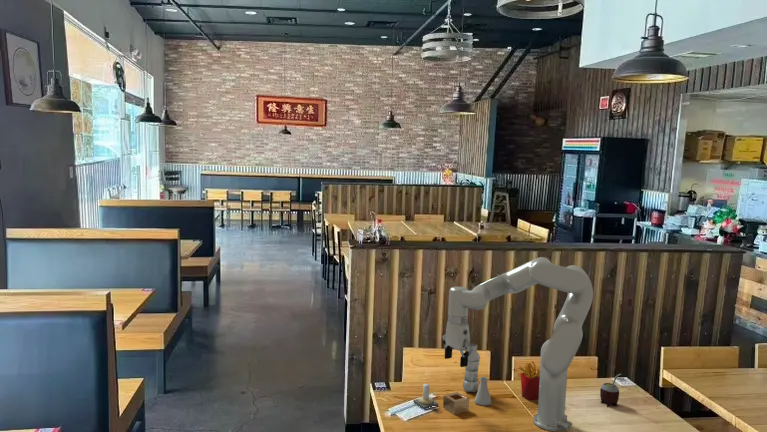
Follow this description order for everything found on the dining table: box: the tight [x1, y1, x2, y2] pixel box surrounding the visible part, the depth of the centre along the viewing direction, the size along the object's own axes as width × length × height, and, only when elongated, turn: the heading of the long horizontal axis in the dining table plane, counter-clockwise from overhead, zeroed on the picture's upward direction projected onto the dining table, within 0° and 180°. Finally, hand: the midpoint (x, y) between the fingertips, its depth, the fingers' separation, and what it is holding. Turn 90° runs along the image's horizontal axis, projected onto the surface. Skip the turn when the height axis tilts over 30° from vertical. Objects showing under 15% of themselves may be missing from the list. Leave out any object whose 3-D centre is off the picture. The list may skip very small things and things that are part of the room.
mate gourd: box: [599, 373, 622, 408], centre depth 213 cm, size 8×8×15 cm
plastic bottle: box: [462, 343, 481, 393], centre depth 223 cm, size 6×7×20 cm
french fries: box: [518, 360, 540, 402], centre depth 218 cm, size 9×8×15 cm
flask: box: [473, 376, 493, 406], centre depth 212 cm, size 7×7×10 cm
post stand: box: [412, 383, 439, 410], centre depth 208 cm, size 7×7×8 cm
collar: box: [442, 391, 470, 416], centre depth 205 cm, size 7×7×5 cm
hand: (455, 362), depth 204 cm, fingers open, 9 cm apart
